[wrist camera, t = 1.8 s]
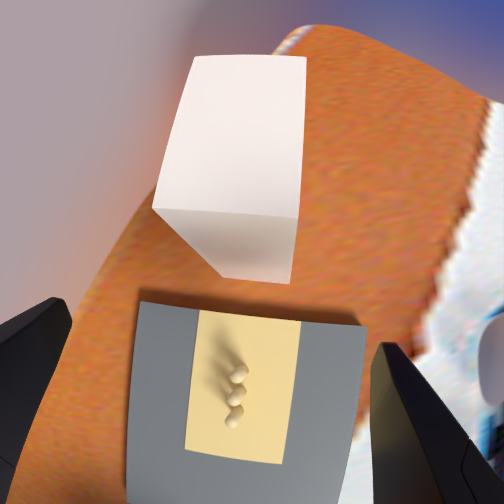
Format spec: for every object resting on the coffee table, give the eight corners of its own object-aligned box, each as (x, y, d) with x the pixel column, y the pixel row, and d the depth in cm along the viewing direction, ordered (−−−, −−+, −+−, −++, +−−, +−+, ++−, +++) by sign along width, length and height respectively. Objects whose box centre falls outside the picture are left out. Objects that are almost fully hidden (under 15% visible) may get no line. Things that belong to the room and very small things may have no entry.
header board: (326, 527, 16) (332, 557, 12) (133, 496, 17) (109, 517, 14) (362, 326, 19) (380, 324, 15) (147, 302, 21) (120, 295, 17)
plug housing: (289, 284, 20) (298, 218, 9) (223, 277, 21) (151, 207, 9) (297, 190, 22) (306, 56, 10) (236, 185, 22) (194, 56, 11)
